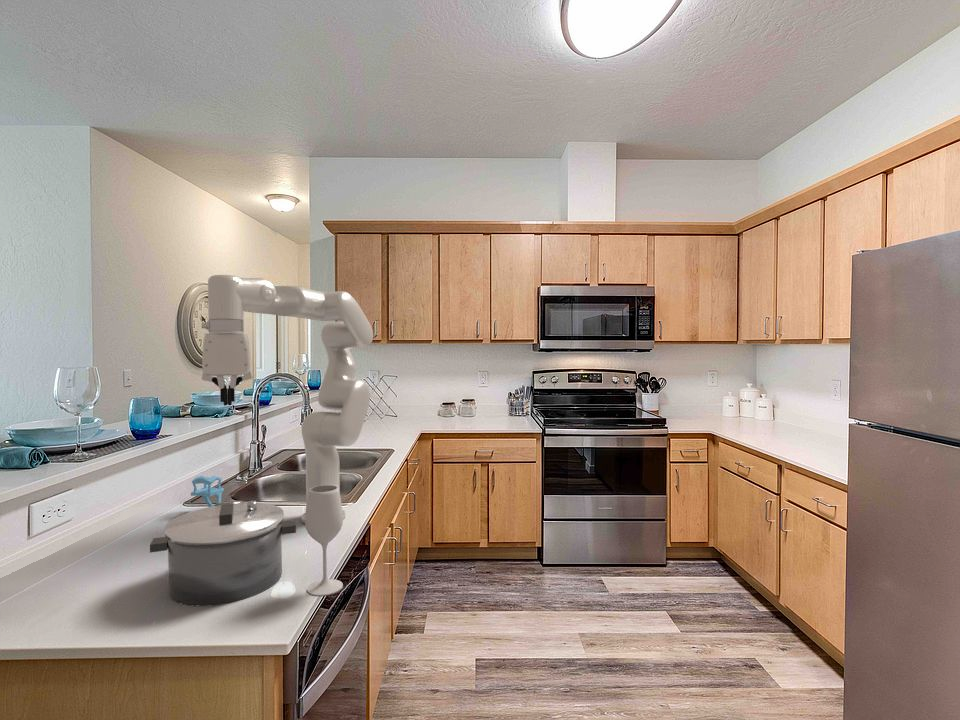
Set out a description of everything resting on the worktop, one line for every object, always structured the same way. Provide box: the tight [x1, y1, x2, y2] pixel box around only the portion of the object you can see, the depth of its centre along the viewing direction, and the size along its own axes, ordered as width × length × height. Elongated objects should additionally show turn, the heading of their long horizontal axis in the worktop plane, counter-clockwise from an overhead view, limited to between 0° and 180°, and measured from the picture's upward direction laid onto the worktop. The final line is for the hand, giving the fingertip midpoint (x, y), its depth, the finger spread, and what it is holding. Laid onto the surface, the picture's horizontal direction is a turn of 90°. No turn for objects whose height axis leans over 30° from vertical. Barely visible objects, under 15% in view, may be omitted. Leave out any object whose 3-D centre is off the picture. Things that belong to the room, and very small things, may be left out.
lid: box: [164, 500, 284, 545], centre depth 114 cm, size 25×23×4 cm
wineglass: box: [304, 485, 344, 597], centre depth 110 cm, size 8×8×21 cm
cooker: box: [149, 519, 297, 607], centre depth 114 cm, size 22×28×12 cm
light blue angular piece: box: [190, 475, 224, 507], centre depth 161 cm, size 8×8×12 cm
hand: (227, 404), depth 125 cm, fingers closed
